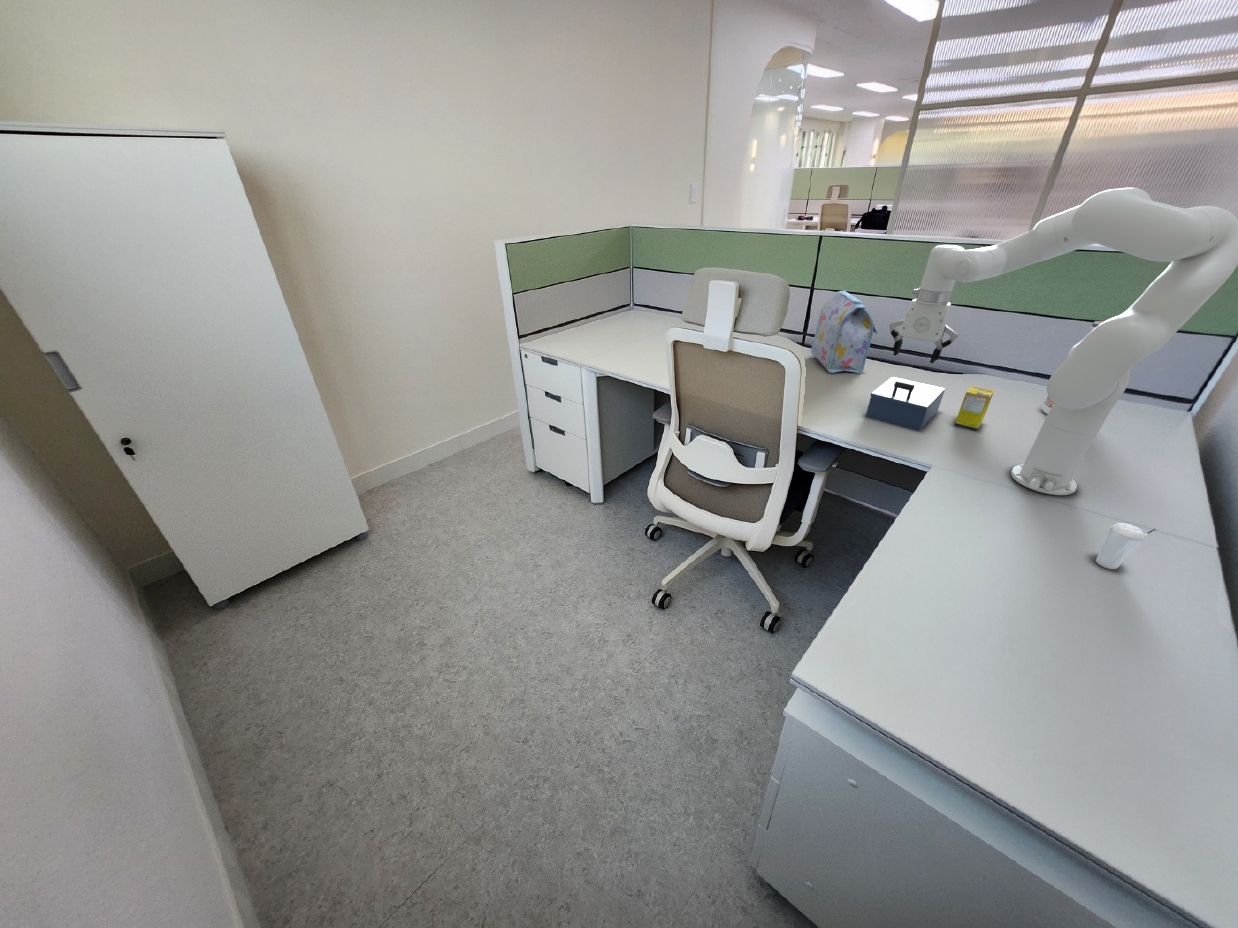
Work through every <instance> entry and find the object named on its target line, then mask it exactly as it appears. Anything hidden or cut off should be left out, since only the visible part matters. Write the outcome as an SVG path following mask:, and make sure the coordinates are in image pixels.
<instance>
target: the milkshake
mask: <svg viewBox="0 0 1238 928" xmlns="http://www.w3.org/2000/svg"><path fill="white" fill-rule="evenodd" d="M1156 530H1157V528H1156V527H1155V528H1152V529H1151V530H1150V531H1148V532H1146V533H1144V532H1143V531H1142V529H1140V527H1137V526H1135V525H1133V524H1130V523H1126V522H1115V523H1114V524H1111V527H1110V528H1109V531H1108V532H1107V535H1106V538H1105V540H1104V542H1103V545H1102V547H1101V549H1100V550H1099V552H1098V554H1097V556H1096V559H1095V562H1096V563H1097V564H1098V565H1099V566H1101V567H1103V568H1105V569H1109V570H1117V569H1118V568H1119V567H1120V566H1121V565H1122V564H1123V563H1124V561H1125V560H1126V559H1127V558H1128V557H1129V555H1130V554H1131V553H1132V552H1133V551H1134V550H1135V549H1136V548H1137V547H1138V546H1139V545H1140V544H1141V542H1142V541H1144V539H1145V538H1146V536H1147V535H1149V534H1151V533H1153V532H1154V531H1156Z"/></svg>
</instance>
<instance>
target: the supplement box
mask: <svg viewBox="0 0 1238 928" xmlns="http://www.w3.org/2000/svg"><path fill="white" fill-rule="evenodd" d="M994 392H995V391H994V390H992V389H986V388H982V387H977V386H972V385H971V386H970V387H969V388H968V389H967V391H966V392H965V394H964V397H963V399H962V403H961V406H960V408H959V411H958V414H957V416H956V418H955V422H954V426H957V427H961V428H965V429H969V430H973V431H976V432H977V431H978V430H979V428H980V427H981V425H982V424H983V421H984V418H985V416H986V413H987V410H988V408H989V405H990V403H991V400H992V398H993V395H994Z"/></svg>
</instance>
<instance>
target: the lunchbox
mask: <svg viewBox="0 0 1238 928" xmlns="http://www.w3.org/2000/svg"><path fill="white" fill-rule="evenodd" d="M944 394H945V391H944V392H943V393H942V394H941V395H940V396H939V397H938V398H937V399H936V400H935V401H934V402H933V403H932V404H931V405H930V406H929V407H928V408H927V409H922V408H918V407H914V406H910V405H906V404H902V403H898V402H894V401H890V400H886V399H882V398H878V397H874V396H870V399H869V402H868V405H867V410H866V412H865V413H866V414H865V417H867V418H870V419H874V420H877V421H881V422H884V423H888V424H892V425H895V426H899V427H902V428H907V429H909V430H913V431H916V432H921V431H922V429H923V428H924V427H925V426H926V425H927V424H928V423H929V422H930V421H931V420H932V419H933V418H934V417H935V415H936V414H938V411H939V409H940V405H941V402H942V400H943V397H944Z"/></svg>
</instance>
